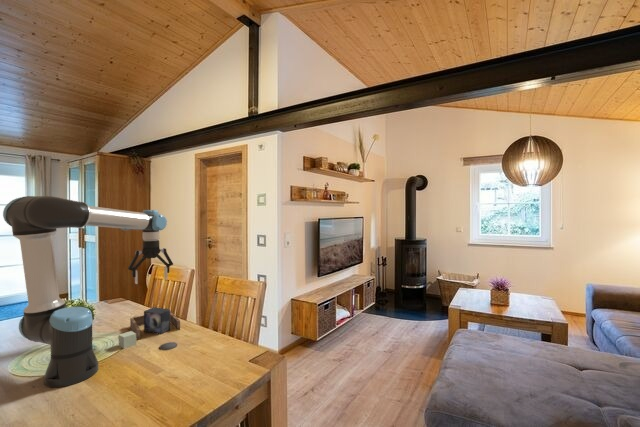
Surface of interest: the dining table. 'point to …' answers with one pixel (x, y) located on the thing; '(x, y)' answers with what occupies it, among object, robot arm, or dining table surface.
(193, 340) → the dining table surface
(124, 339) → the sage cube
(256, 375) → the dining table surface
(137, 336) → the brown u-shaped wall
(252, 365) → the dining table surface
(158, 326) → the small box
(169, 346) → the coaster
